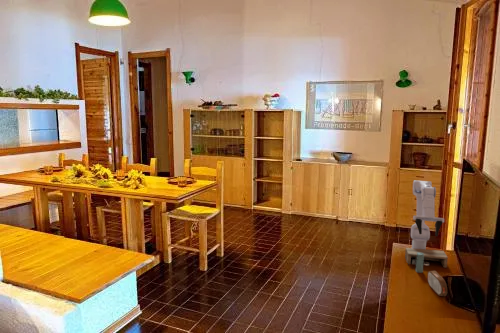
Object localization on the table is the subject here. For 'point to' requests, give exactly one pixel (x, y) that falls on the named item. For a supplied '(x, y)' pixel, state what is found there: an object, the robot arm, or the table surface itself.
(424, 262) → the token
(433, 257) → the grey bridge block
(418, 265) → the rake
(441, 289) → the tin
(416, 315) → the table surface
